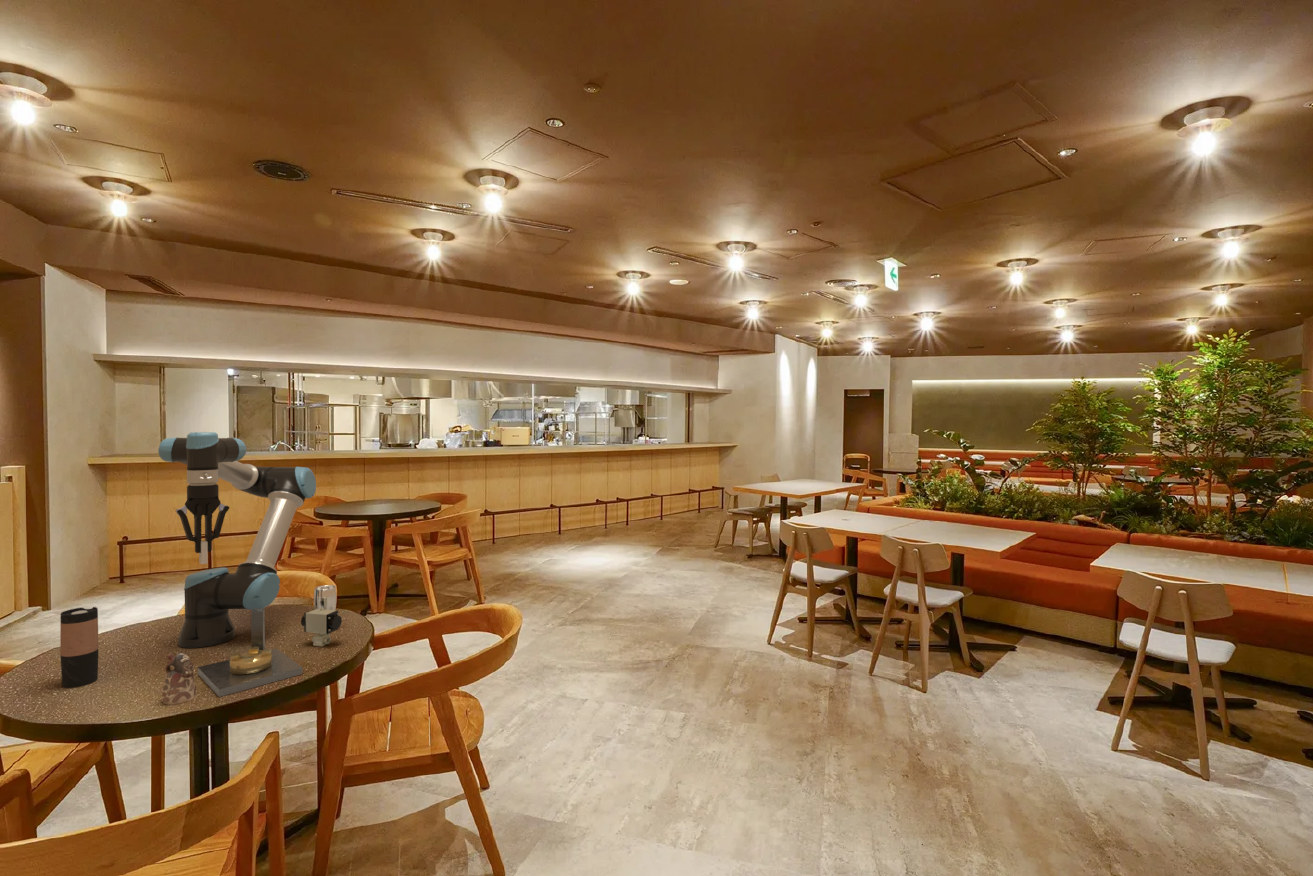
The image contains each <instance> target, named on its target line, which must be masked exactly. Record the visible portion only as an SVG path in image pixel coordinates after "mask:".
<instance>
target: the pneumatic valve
mask: <svg viewBox="0 0 1313 876" xmlns="http://www.w3.org/2000/svg"><path fill="white" fill-rule="evenodd" d="M342 620H343V619H342V617H341V615H340V613H339V610H338V609H337V610H336V609H335V610H327V609H326V610H324V609H323V608H320V609H315V608H314V609H311V610H309V611H306V612H305V611H304V613H303V614H302V617H301V619H300V624H301V626H302V627H303V632H304V633H312V634H313V633H314V635H313V636H312V638H311V641H312V645H313V647H324V646H327V645H329V644H330V643H331V640H332V638H331V633H333V632H335V631H337V630H339V628H340V627H341V625H342Z"/></svg>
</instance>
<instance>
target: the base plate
mask: <svg viewBox="0 0 1313 876" xmlns="http://www.w3.org/2000/svg"><path fill="white" fill-rule="evenodd" d="M271 652H272V665H271V666H270V667H268V668H266V669H264V670H261V671H258V672H254V673H249V674H233V673H231V672H230V659H226V660H222V661H219V662H218V661H217V662H214V663H213V662H212V663H210V664H206V665H200V666H198V667H197V675H198V676H199V677H200V678H201V680H202V681H204V682H205V684H206V685H207V686H208V687H209V688H210V689H211V690H212V691H213V692H214V694H216V695H217V697H218V698H221V697H225V696H228V695H232V694H235V693H239V692H243V691H246V690H250V689H254V688H259V687H260V686H264V685H268V684H272V683H274V682H275V683H276V682H279V681H283V680H286V679H290V678H293V677H297V676H301V675H303V672H304V671H303V666H302V665H300V664H299V663H298V662H296V661H295V660H294V659H292V658H291V657H289V656H288V655H287V654H285V653H284V652H282V651H281V650H280V649H278V648H271Z"/></svg>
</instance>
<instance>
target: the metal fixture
mask: <svg viewBox="0 0 1313 876" xmlns="http://www.w3.org/2000/svg"><path fill="white" fill-rule="evenodd" d="M265 608H266V607H265ZM265 608H261V609H253V610H251V612H250V627H251V628H250V631H251V632H250V636H251V637H250V639H251V640H250V642H251V643H250V644H251V646H250V647H249V648H248V651H246V652H242V653H240V652H235V653H232V654H230V659H229V660H230V672H231V673H233V674H249V673H254V672H258V671H261V670H264V669H266V668H268V667H270V666H271V665H272V652H271V650H272V648H267V649H266V647H265V646H266V642H265V641H266V633H265V632H266V628H265V627H266V625H265V624H266V623H265V622H266V619H265V618H266V617H265V613H266V611H265Z"/></svg>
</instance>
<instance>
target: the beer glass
mask: <svg viewBox="0 0 1313 876" xmlns="http://www.w3.org/2000/svg"><path fill="white" fill-rule="evenodd" d="M336 586H337V585H333V584H324V585H319V586H316V587H314V592H313V606H314V607H313V608H314V609H320V608H323V609H324V610H326V609H327V610H336V608H337V587H336Z"/></svg>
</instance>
